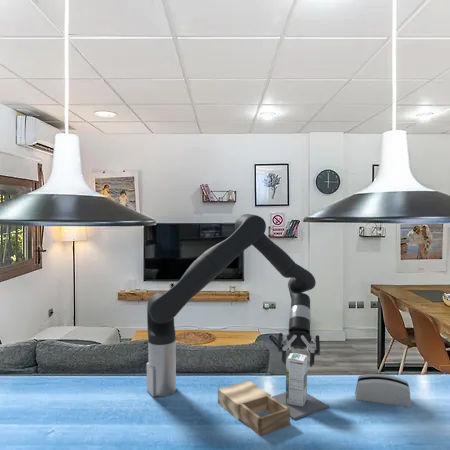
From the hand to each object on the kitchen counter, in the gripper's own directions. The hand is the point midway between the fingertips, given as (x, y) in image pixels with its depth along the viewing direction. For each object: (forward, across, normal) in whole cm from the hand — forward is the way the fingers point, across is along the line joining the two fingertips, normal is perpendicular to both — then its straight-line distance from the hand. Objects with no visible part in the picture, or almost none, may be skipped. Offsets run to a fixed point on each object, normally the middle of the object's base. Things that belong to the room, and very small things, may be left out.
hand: (297, 364), depth 125 cm
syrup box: (+11, 0, +3) cm, 11 cm away
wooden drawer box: (+18, -13, -3) cm, 22 cm away
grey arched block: (+6, +26, +10) cm, 29 cm away
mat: (+11, 0, +4) cm, 12 cm away
